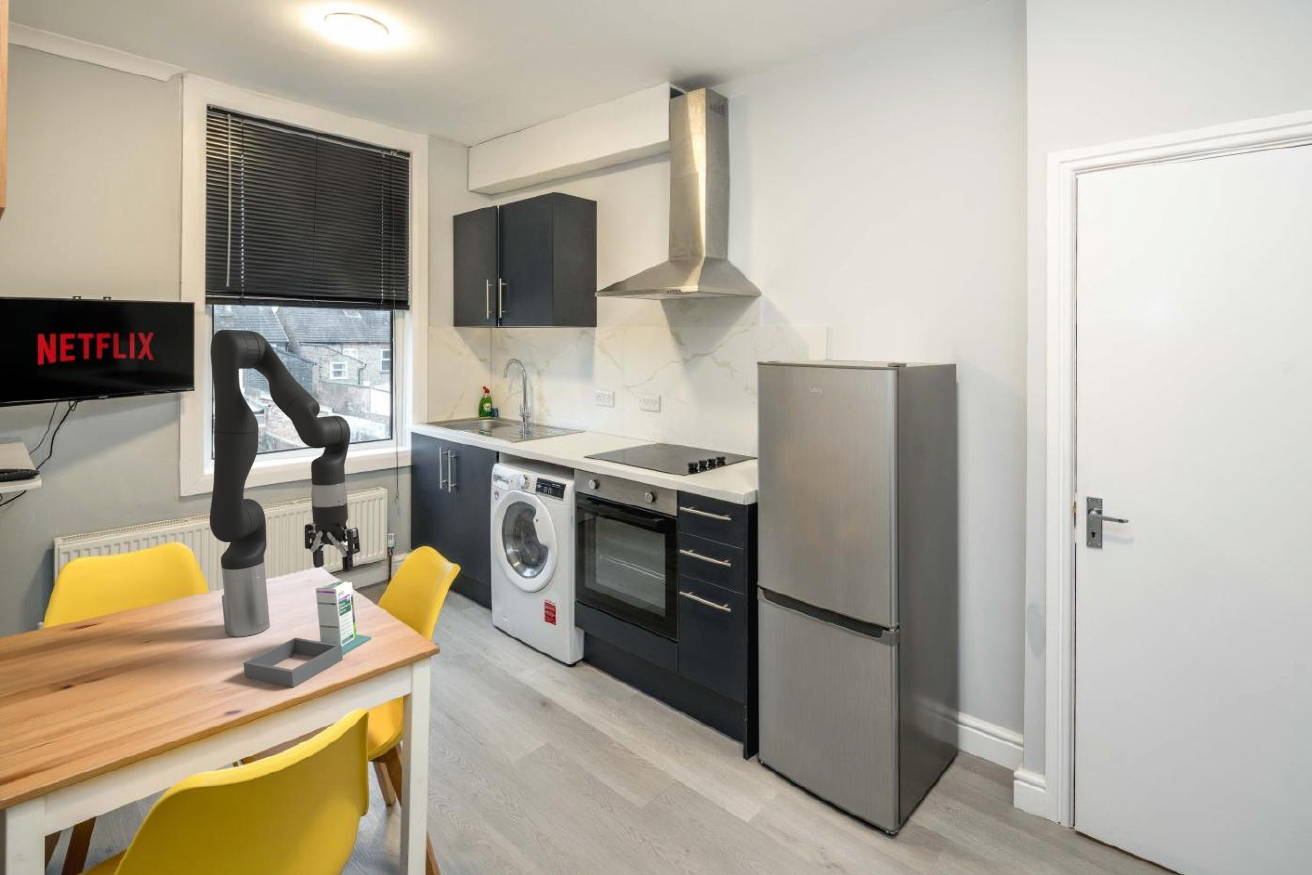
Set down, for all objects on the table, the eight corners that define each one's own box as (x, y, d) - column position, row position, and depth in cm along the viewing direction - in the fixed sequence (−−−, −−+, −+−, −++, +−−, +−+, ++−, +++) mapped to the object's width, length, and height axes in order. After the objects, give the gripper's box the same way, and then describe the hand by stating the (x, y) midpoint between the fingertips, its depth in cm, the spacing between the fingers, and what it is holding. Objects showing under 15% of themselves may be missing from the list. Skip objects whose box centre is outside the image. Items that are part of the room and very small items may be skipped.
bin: (244, 678, 148) (243, 662, 147) (296, 651, 160) (295, 637, 160) (293, 687, 143) (292, 671, 143) (342, 659, 156) (341, 645, 155)
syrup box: (341, 648, 161) (337, 588, 159) (319, 646, 162) (315, 587, 160) (357, 638, 166) (353, 580, 164) (335, 636, 167) (331, 579, 166)
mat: (306, 650, 161) (306, 648, 161) (339, 633, 170) (338, 631, 170) (340, 656, 158) (340, 654, 158) (371, 639, 167) (371, 636, 167)
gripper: (292, 502, 158) (297, 570, 160) (341, 507, 153) (345, 577, 155) (318, 496, 165) (322, 561, 167) (366, 501, 160) (369, 567, 163)
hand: (333, 568), depth 161 cm, fingers open, 8 cm apart
